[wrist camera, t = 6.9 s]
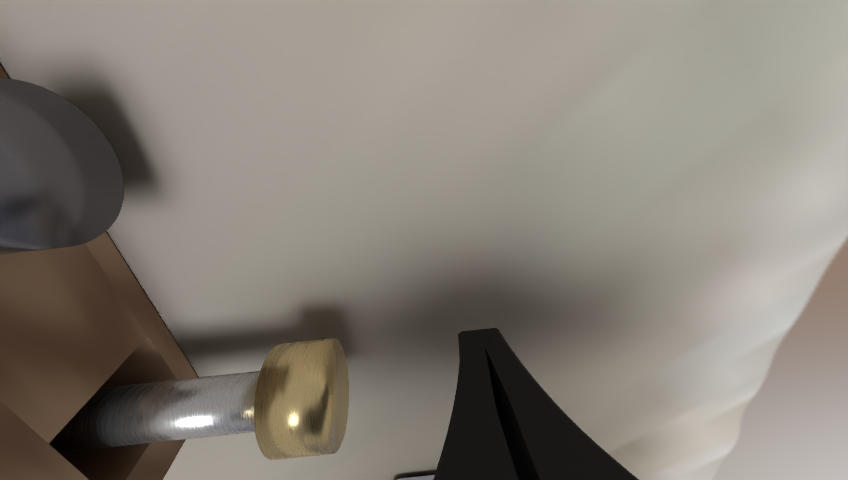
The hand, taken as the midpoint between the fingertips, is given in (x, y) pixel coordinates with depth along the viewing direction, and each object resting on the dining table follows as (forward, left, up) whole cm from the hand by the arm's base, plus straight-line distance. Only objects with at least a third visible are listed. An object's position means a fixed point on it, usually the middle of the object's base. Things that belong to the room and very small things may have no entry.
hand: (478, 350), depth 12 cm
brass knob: (0, +9, -1) cm, 9 cm away
